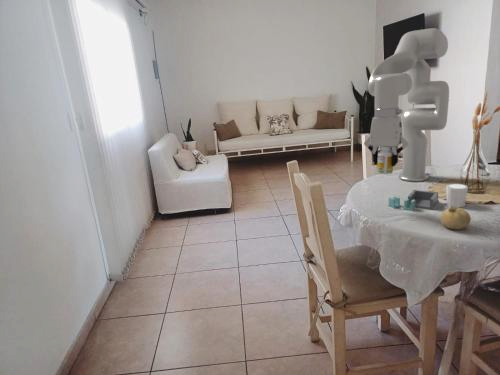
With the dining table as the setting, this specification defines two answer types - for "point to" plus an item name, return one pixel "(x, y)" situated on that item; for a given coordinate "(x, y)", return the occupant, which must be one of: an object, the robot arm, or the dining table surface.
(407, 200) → the clip
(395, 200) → the clip
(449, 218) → the onion
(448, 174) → the dining table surface
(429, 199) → the holder
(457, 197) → the white cup
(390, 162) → the supplement bottle
